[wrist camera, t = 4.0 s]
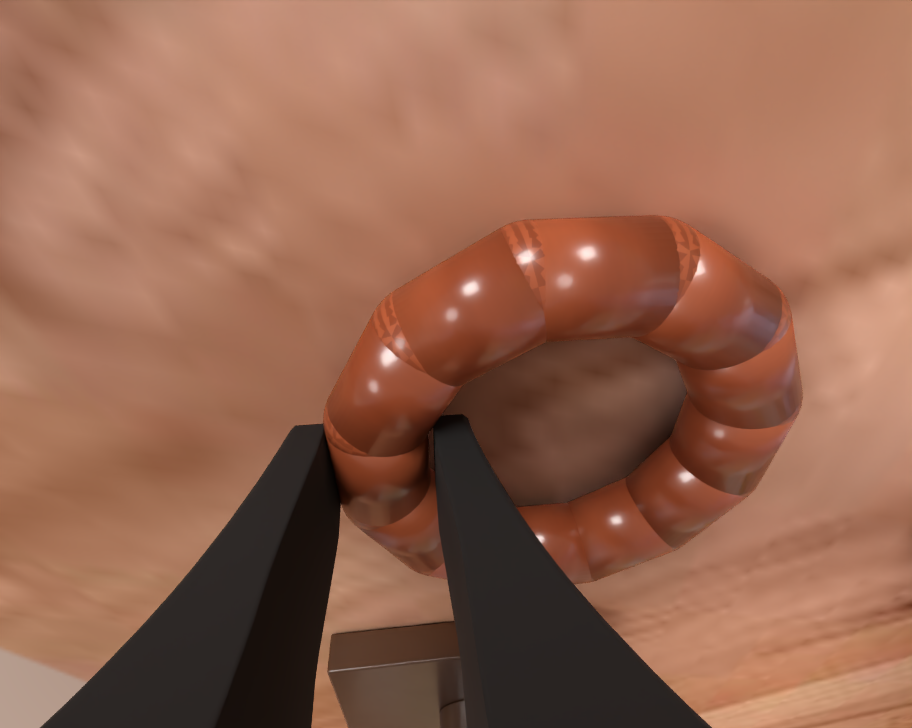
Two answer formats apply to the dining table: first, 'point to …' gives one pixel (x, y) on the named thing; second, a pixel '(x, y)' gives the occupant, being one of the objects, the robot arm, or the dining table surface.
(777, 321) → the hoop
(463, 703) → the stand
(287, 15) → the dining table surface
